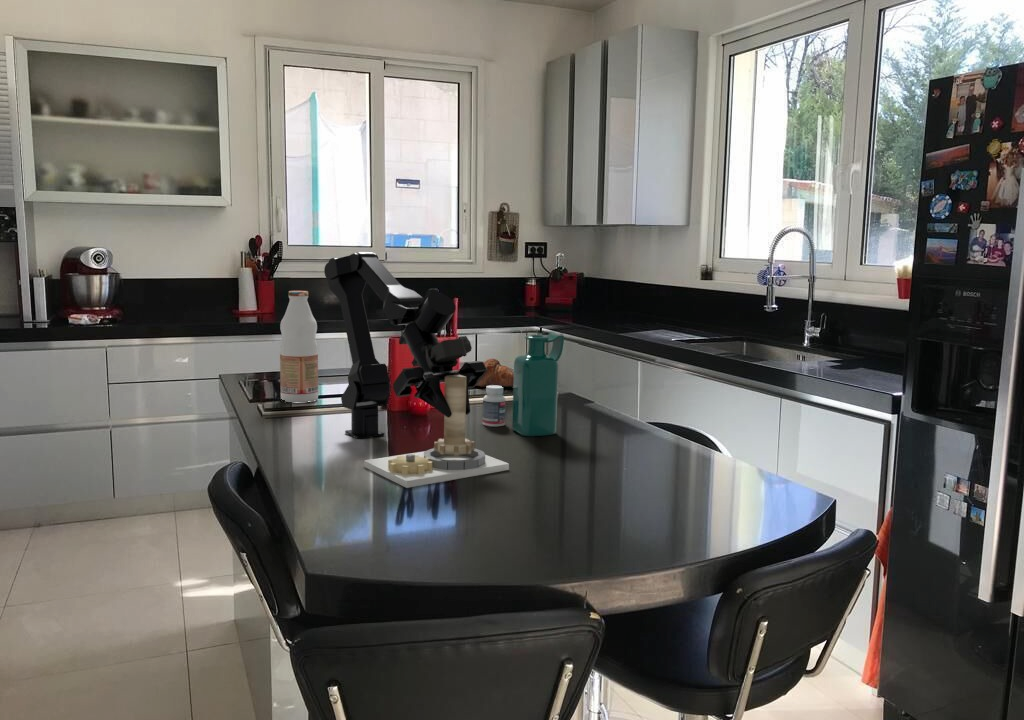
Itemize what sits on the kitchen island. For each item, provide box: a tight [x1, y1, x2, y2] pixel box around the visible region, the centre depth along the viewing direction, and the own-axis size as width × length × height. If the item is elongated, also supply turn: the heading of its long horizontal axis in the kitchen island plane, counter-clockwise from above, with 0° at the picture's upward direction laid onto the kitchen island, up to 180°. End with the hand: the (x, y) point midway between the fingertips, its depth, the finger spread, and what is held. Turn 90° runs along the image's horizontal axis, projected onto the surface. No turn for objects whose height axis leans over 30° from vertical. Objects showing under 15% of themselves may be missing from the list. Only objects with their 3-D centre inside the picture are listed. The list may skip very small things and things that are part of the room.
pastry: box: [476, 358, 514, 387], centre depth 254 cm, size 17×15×8 cm
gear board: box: [363, 447, 510, 489], centre depth 164 cm, size 16×22×4 cm
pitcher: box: [511, 332, 565, 437], centre depth 195 cm, size 10×8×22 cm
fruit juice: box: [279, 290, 319, 402], centre depth 223 cm, size 9×9×28 cm
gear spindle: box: [433, 375, 475, 456], centre depth 164 cm, size 8×8×14 cm
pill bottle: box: [482, 385, 507, 428], centre depth 202 cm, size 5×5×9 cm
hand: (459, 414), depth 163 cm, fingers closed on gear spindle, 4 cm apart
